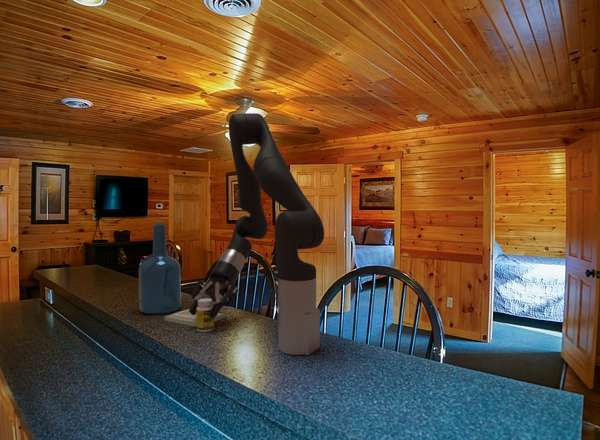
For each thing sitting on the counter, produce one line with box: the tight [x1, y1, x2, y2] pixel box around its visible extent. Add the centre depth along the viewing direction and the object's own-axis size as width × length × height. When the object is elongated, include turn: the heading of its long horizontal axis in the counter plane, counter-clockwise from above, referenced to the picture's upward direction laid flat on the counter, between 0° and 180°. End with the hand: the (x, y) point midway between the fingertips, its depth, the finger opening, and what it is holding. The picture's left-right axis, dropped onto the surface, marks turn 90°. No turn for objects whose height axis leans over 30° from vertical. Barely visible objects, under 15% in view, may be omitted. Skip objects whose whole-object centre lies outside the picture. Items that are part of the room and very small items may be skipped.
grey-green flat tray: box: [164, 308, 225, 328], centre depth 119 cm, size 14×11×2 cm
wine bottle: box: [138, 220, 182, 315], centre depth 129 cm, size 14×13×30 cm
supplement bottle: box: [196, 298, 215, 333], centre depth 108 cm, size 5×5×8 cm
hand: (201, 315), depth 107 cm, fingers open, 6 cm apart
